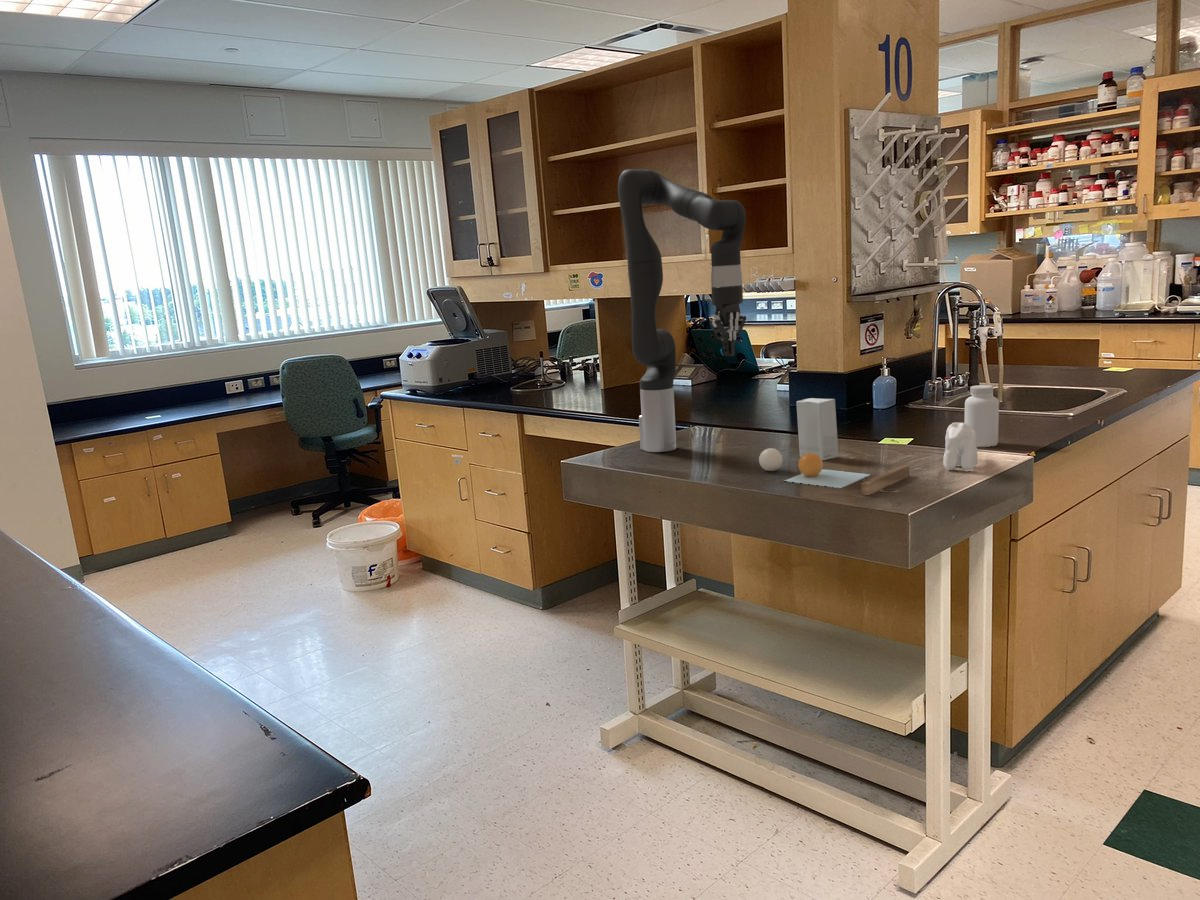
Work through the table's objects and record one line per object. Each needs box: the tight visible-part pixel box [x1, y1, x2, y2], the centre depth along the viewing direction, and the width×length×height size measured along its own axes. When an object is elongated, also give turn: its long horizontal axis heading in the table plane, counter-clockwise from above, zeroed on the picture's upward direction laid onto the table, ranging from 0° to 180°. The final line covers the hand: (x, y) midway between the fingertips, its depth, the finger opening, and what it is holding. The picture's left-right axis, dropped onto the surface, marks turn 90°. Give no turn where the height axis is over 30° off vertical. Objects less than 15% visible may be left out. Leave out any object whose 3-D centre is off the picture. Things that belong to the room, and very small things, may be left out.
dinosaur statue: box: [942, 422, 978, 471], centre depth 199 cm, size 7×24×11 cm, turn 145°
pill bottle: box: [963, 384, 1000, 448], centre depth 221 cm, size 8×8×15 cm
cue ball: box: [758, 447, 783, 472], centre depth 208 cm, size 6×6×6 cm
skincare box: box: [795, 397, 839, 461], centre depth 218 cm, size 8×6×15 cm
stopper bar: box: [860, 464, 910, 496], centre depth 188 cm, size 2×20×2 cm, turn 137°
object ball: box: [797, 453, 824, 477], centre depth 200 cm, size 6×6×6 cm
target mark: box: [784, 468, 872, 489], centre depth 197 cm, size 14×14×1 cm
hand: (729, 355), depth 215 cm, fingers closed
